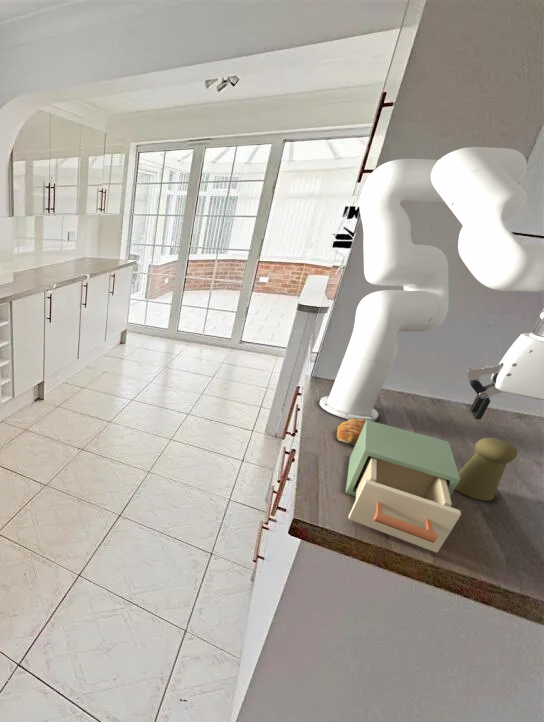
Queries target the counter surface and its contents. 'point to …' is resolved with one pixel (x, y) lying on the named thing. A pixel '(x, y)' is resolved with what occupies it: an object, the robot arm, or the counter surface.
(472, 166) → the robot arm
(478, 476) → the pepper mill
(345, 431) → the pastry
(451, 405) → the counter surface
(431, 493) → the drawer
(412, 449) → the cabinet
